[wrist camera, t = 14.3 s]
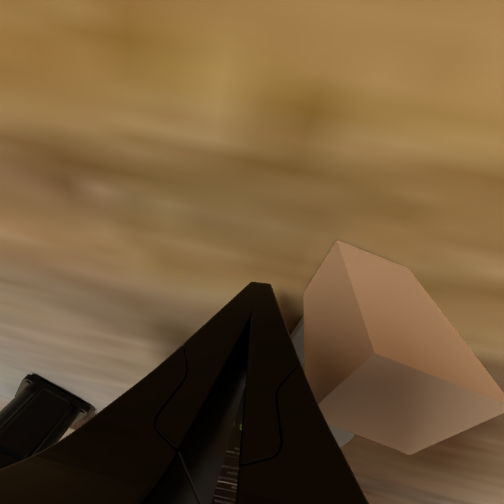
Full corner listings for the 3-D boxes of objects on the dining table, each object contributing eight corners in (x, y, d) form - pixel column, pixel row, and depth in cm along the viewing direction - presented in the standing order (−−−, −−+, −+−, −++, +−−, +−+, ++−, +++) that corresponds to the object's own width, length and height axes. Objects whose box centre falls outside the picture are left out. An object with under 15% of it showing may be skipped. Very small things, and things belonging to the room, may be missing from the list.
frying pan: (209, 440, 20) (185, 523, 16) (91, 279, 12) (-19, 360, 8) (400, 460, 16) (437, 583, 12) (409, 228, 8) (541, 349, 4)
